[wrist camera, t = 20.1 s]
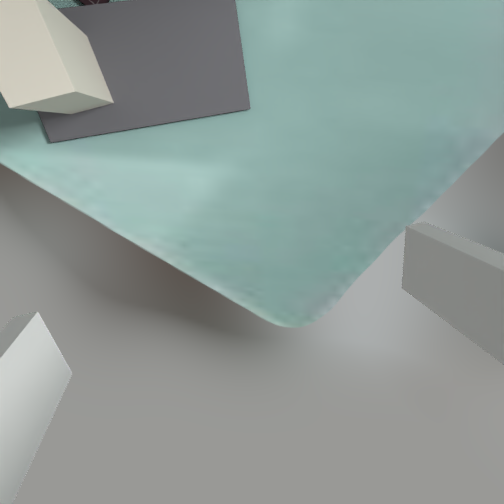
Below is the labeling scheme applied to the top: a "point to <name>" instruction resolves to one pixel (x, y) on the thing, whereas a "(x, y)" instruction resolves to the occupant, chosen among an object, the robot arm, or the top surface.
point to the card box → (47, 61)
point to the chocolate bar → (93, 2)
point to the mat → (158, 64)
